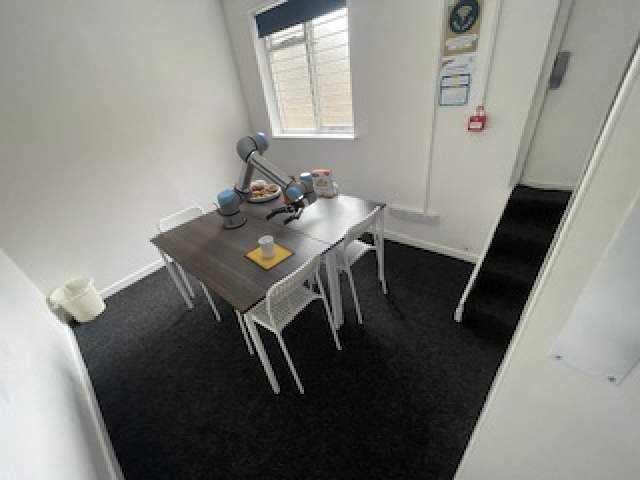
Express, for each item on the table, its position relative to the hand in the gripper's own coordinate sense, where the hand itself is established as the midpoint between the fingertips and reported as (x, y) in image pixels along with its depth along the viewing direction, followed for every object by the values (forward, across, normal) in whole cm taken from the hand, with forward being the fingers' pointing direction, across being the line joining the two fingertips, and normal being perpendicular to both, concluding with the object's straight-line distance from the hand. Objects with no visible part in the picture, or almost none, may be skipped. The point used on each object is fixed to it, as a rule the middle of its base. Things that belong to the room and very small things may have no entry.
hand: (275, 220), depth 143 cm
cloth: (+10, +1, -17) cm, 19 cm away
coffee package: (-50, +34, -17) cm, 63 cm away
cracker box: (-68, +16, -17) cm, 72 cm away
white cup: (+10, 0, -17) cm, 19 cm away
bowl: (-52, +68, -18) cm, 87 cm away
